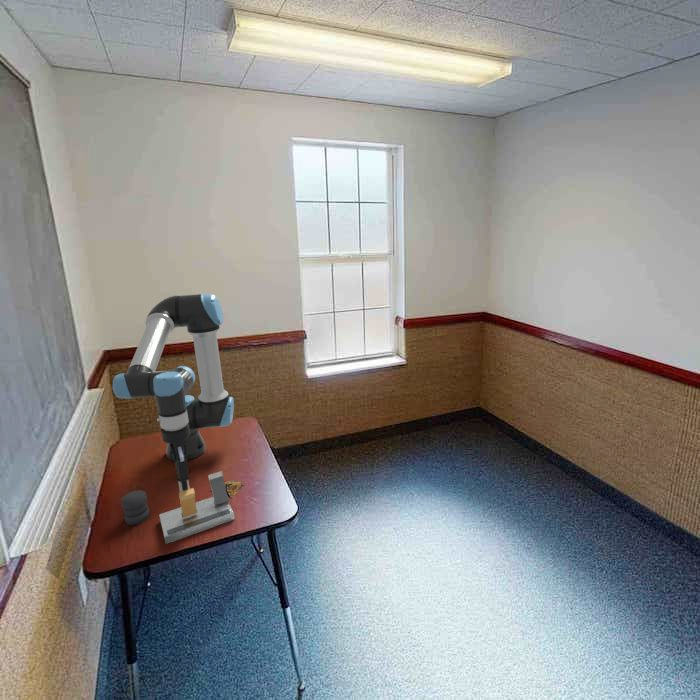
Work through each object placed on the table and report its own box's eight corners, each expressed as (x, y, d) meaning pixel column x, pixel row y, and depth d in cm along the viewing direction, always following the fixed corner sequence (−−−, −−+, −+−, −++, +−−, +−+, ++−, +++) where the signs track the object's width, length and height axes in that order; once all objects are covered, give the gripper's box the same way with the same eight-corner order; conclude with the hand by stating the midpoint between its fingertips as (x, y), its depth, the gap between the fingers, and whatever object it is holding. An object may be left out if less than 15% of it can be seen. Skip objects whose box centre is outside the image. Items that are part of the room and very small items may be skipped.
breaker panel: (160, 521, 131) (159, 513, 130) (224, 499, 140) (223, 492, 140) (165, 544, 121) (164, 536, 120) (234, 519, 130) (233, 511, 130)
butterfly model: (234, 500, 141) (233, 492, 140) (207, 491, 146) (205, 484, 145) (251, 486, 148) (250, 479, 147) (224, 479, 154) (223, 471, 153)
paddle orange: (181, 514, 128) (178, 492, 124) (196, 509, 130) (193, 487, 126) (182, 519, 127) (179, 497, 122) (197, 514, 129) (195, 492, 124)
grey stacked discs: (124, 515, 134) (120, 495, 132) (148, 508, 137) (144, 487, 135) (126, 528, 128) (121, 506, 126) (150, 519, 132) (146, 499, 130)
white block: (214, 505, 134) (207, 475, 136) (228, 501, 136) (221, 471, 138) (215, 505, 132) (208, 475, 134) (229, 500, 134) (222, 470, 136)
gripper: (157, 420, 124) (169, 490, 130) (163, 437, 113) (176, 512, 119) (184, 414, 127) (194, 482, 134) (192, 430, 116) (203, 503, 123)
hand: (185, 496), depth 126 cm, fingers closed
